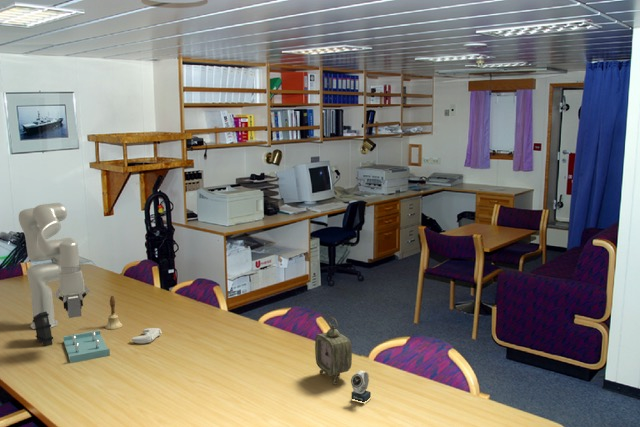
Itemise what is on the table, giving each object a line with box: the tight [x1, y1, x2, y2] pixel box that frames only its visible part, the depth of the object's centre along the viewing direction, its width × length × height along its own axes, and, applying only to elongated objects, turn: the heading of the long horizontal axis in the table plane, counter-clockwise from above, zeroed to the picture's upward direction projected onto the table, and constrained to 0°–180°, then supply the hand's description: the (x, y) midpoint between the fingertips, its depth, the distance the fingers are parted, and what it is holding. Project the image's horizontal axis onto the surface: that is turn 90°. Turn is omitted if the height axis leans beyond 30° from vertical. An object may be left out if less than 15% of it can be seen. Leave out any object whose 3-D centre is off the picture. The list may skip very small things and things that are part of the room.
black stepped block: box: [32, 311, 54, 347], centre depth 266 cm, size 4×13×15 cm, turn 46°
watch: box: [350, 369, 371, 402], centre depth 210 cm, size 6×8×11 cm
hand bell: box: [104, 295, 123, 330], centre depth 285 cm, size 8×8×16 cm
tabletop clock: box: [314, 317, 353, 385], centre depth 227 cm, size 14×9×25 cm, turn 29°
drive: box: [66, 294, 82, 319], centre depth 254 cm, size 12×5×8 cm, turn 28°
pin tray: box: [62, 329, 111, 364], centre depth 259 cm, size 26×16×5 cm, turn 30°
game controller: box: [131, 327, 163, 345], centre depth 270 cm, size 14×4×10 cm
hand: (73, 308), depth 254 cm, fingers closed on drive, 5 cm apart
